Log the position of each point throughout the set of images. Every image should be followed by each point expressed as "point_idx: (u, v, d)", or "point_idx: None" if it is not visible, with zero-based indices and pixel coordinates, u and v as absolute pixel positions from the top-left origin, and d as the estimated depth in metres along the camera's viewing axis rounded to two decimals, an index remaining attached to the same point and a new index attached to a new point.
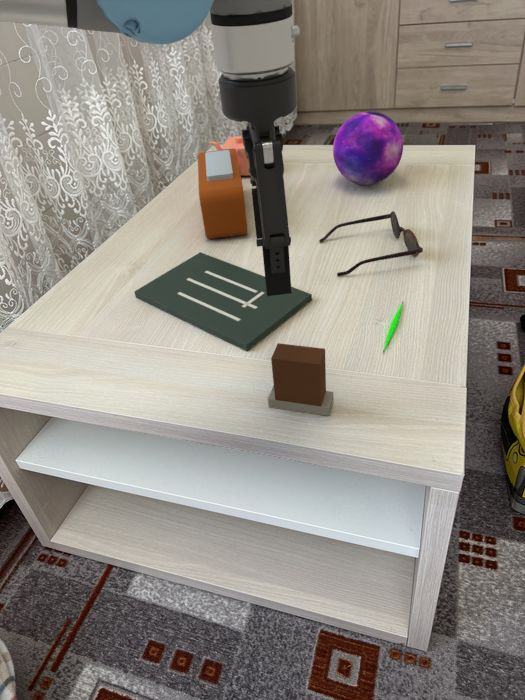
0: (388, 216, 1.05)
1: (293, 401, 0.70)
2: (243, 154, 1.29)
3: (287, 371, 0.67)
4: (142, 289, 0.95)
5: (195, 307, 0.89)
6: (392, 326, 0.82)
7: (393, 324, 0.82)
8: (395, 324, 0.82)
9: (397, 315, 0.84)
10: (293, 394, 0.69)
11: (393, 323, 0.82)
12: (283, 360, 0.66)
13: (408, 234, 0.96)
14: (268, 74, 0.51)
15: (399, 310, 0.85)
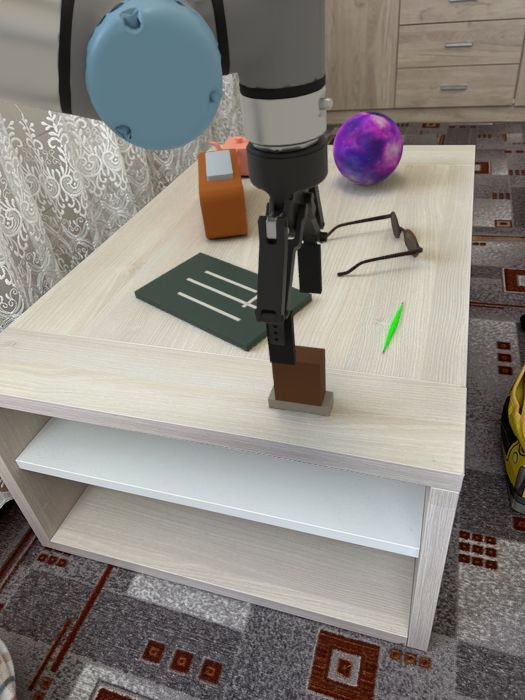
0: (388, 216, 1.05)
1: (293, 401, 0.70)
2: (243, 154, 1.29)
3: (287, 371, 0.67)
4: (142, 289, 0.95)
5: (195, 307, 0.89)
6: (391, 327, 0.82)
7: (393, 324, 0.82)
8: (395, 325, 0.82)
9: (397, 316, 0.84)
10: (293, 394, 0.69)
11: (393, 324, 0.82)
12: None
13: (408, 234, 0.96)
14: (287, 147, 0.48)
15: (399, 311, 0.85)
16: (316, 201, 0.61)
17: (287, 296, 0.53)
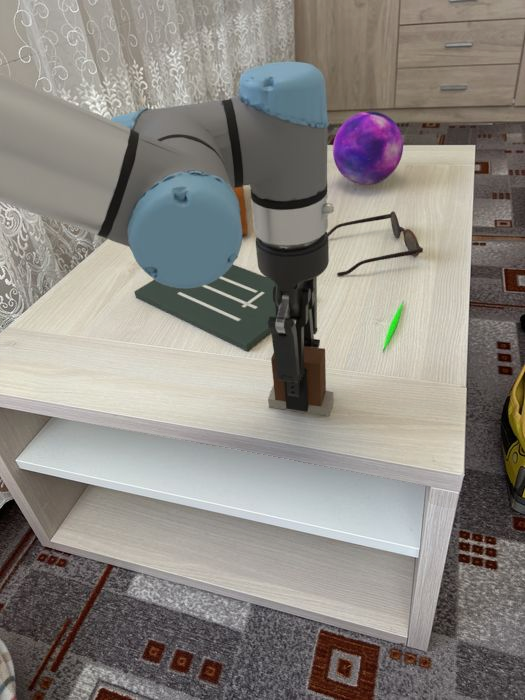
0: (388, 216, 1.05)
1: None
2: None
3: None
4: (142, 289, 0.95)
5: (195, 307, 0.89)
6: (392, 326, 0.82)
7: (393, 323, 0.82)
8: (395, 323, 0.82)
9: (397, 314, 0.84)
10: None
11: (393, 322, 0.82)
12: None
13: (408, 234, 0.96)
14: (292, 246, 0.54)
15: (399, 309, 0.85)
16: None
17: (300, 363, 0.63)
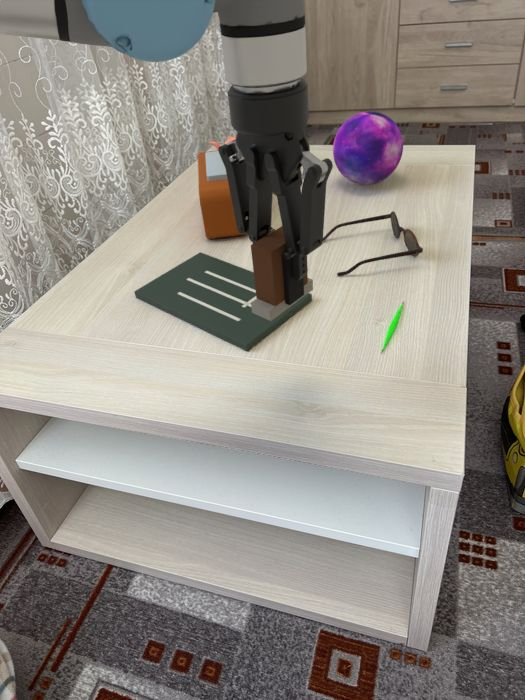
0: (388, 216, 1.05)
1: None
2: None
3: None
4: (142, 289, 0.95)
5: (195, 307, 0.89)
6: (391, 327, 0.82)
7: (392, 324, 0.82)
8: (394, 324, 0.82)
9: (397, 315, 0.84)
10: None
11: (392, 323, 0.82)
12: (280, 247, 0.59)
13: (408, 234, 0.96)
14: (297, 80, 0.50)
15: (399, 310, 0.85)
16: None
17: None
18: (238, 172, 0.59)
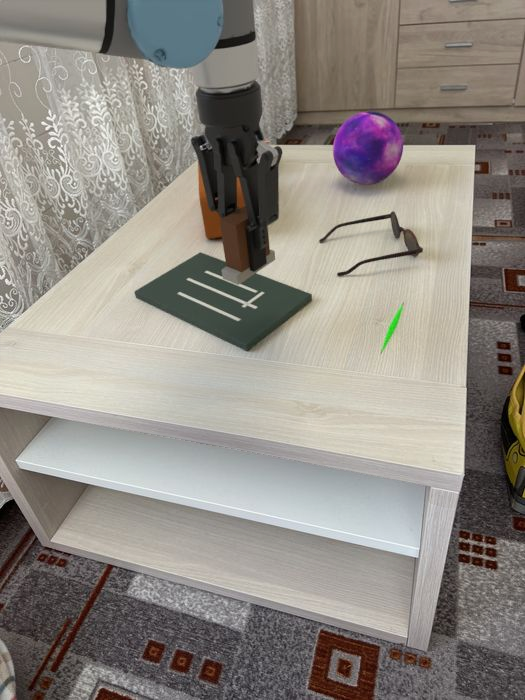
0: (388, 216, 1.05)
1: None
2: None
3: None
4: (142, 289, 0.95)
5: (195, 307, 0.89)
6: (391, 327, 0.82)
7: (392, 325, 0.82)
8: (394, 325, 0.82)
9: (397, 316, 0.84)
10: None
11: (392, 324, 0.82)
12: (243, 221, 0.71)
13: (408, 234, 0.96)
14: (251, 83, 0.62)
15: (399, 311, 0.85)
16: None
17: None
18: (208, 159, 0.71)
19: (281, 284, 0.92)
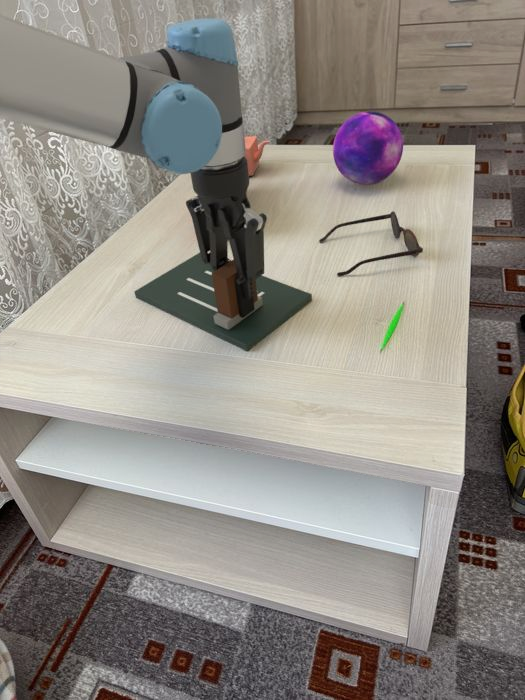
0: (388, 216, 1.05)
1: None
2: None
3: None
4: (142, 289, 0.95)
5: (195, 307, 0.89)
6: (391, 326, 0.82)
7: (392, 323, 0.82)
8: (394, 324, 0.82)
9: (397, 315, 0.84)
10: None
11: (392, 323, 0.82)
12: (233, 275, 0.79)
13: (408, 234, 0.96)
14: (239, 160, 0.70)
15: (399, 310, 0.85)
16: None
17: None
18: (201, 219, 0.79)
19: (281, 284, 0.92)
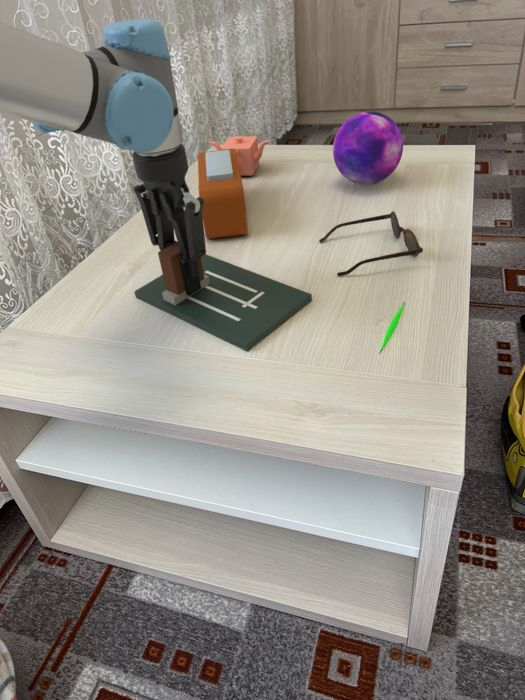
0: (388, 216, 1.05)
1: None
2: (243, 154, 1.29)
3: None
4: (142, 289, 0.95)
5: (195, 307, 0.89)
6: (391, 327, 0.82)
7: (392, 324, 0.82)
8: (394, 325, 0.82)
9: (397, 316, 0.84)
10: None
11: (392, 324, 0.82)
12: (177, 254, 0.86)
13: (408, 234, 0.96)
14: (176, 147, 0.76)
15: (399, 311, 0.85)
16: None
17: None
18: (148, 204, 0.85)
19: (281, 284, 0.92)
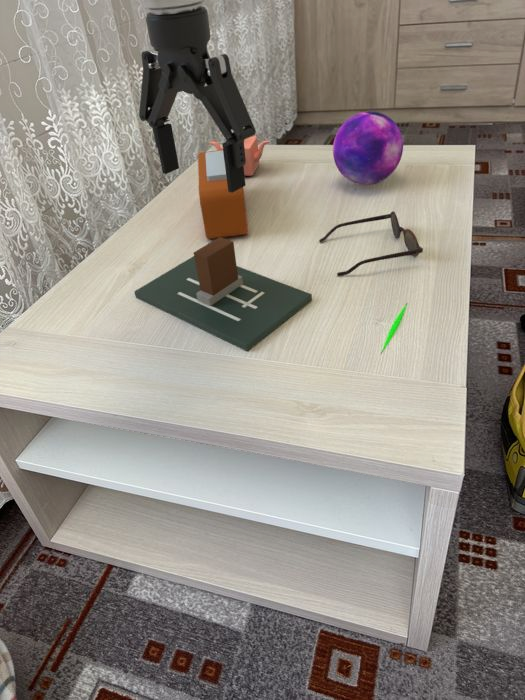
0: (388, 216, 1.05)
1: (223, 287, 0.89)
2: None
3: (217, 262, 0.86)
4: (142, 289, 0.95)
5: (195, 307, 0.89)
6: (393, 328, 0.82)
7: (394, 325, 0.82)
8: (396, 325, 0.82)
9: (399, 316, 0.84)
10: (222, 281, 0.89)
11: (394, 324, 0.82)
12: (213, 254, 0.85)
13: (408, 234, 0.96)
14: (197, 6, 0.65)
15: (402, 312, 0.85)
16: None
17: None
18: (152, 77, 0.74)
19: (281, 284, 0.92)
